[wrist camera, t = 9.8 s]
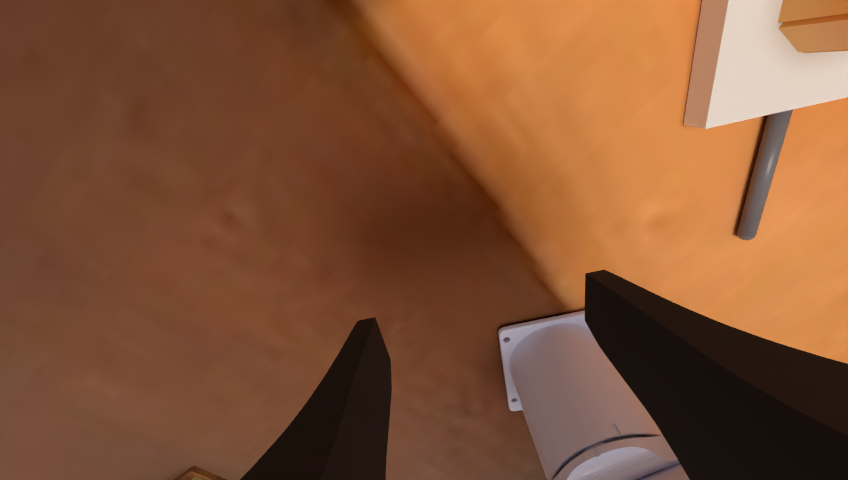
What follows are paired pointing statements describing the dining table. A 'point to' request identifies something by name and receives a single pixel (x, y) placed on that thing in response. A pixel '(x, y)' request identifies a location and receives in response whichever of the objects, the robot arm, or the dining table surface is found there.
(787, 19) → the ribbed domed knob
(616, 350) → the robot arm
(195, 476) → the diary
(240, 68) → the dining table surface
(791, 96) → the white base
